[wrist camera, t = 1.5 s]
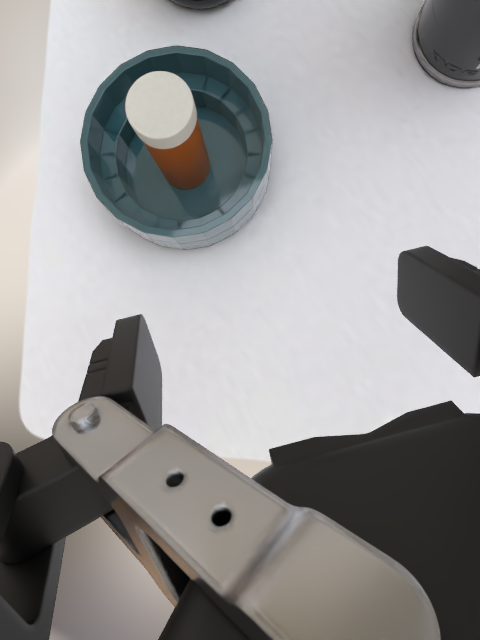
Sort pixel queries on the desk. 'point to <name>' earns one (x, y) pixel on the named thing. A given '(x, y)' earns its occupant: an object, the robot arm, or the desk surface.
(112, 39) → the desk surface
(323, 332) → the desk surface
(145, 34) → the desk surface
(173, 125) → the pill bottle
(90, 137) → the bowl
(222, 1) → the supplement container
